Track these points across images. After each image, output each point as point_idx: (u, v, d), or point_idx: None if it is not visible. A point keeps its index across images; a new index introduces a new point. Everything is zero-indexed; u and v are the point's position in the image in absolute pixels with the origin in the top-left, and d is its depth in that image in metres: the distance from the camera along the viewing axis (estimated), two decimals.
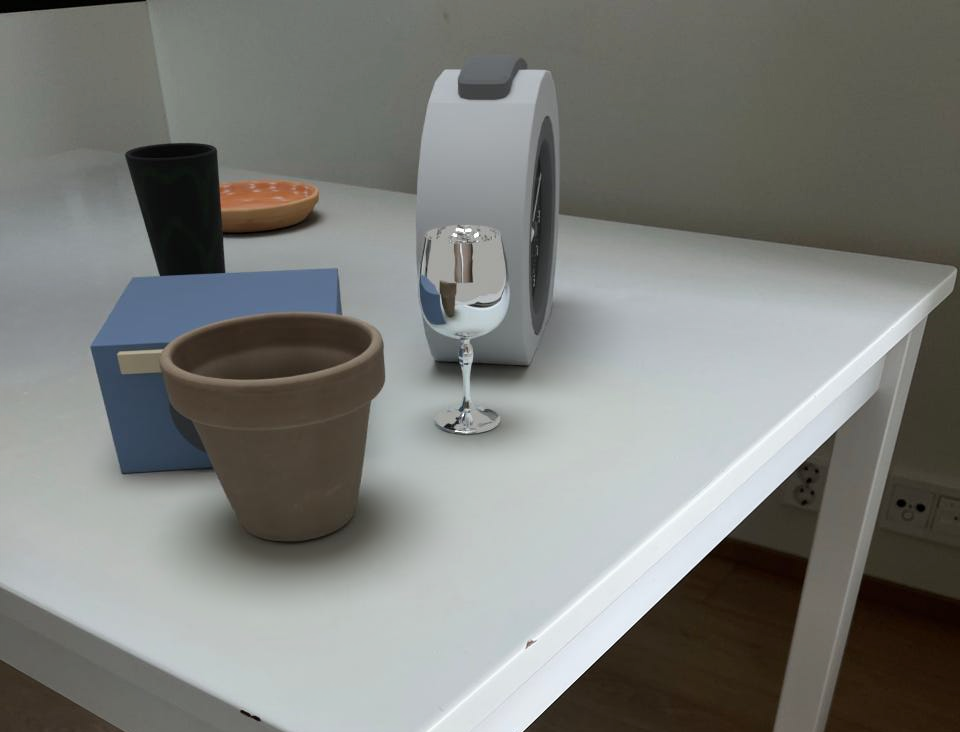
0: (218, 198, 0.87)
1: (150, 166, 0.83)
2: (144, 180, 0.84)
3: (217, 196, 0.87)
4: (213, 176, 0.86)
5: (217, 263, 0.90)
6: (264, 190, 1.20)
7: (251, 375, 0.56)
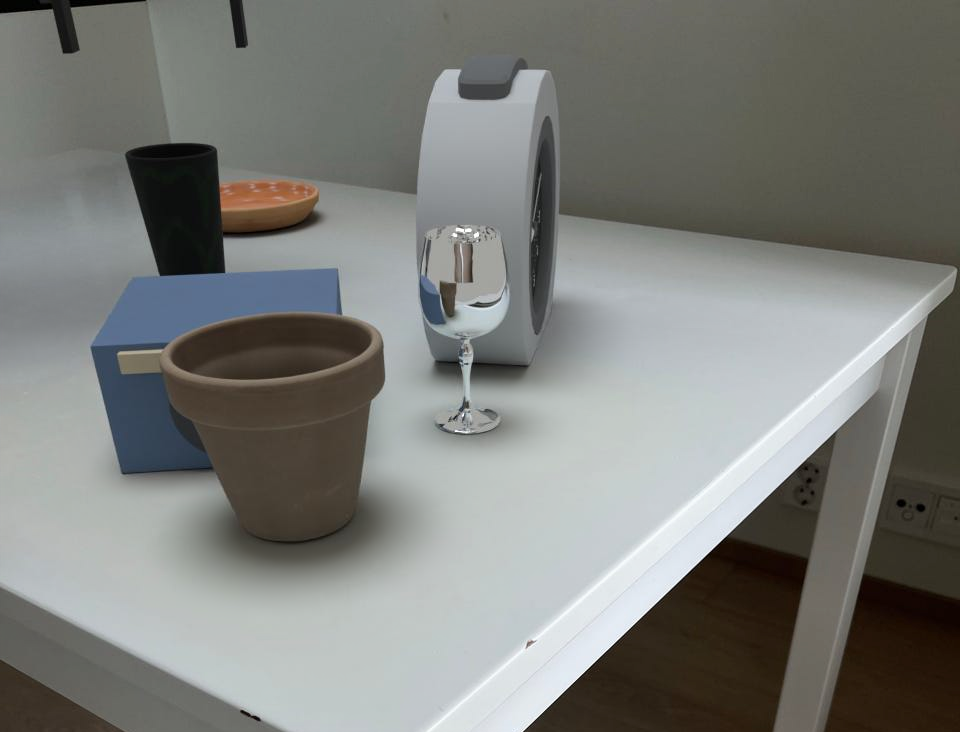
0: (218, 198, 0.87)
1: (150, 166, 0.83)
2: (144, 180, 0.84)
3: (217, 196, 0.87)
4: (213, 176, 0.86)
5: (217, 263, 0.90)
6: (264, 190, 1.20)
7: (251, 375, 0.56)
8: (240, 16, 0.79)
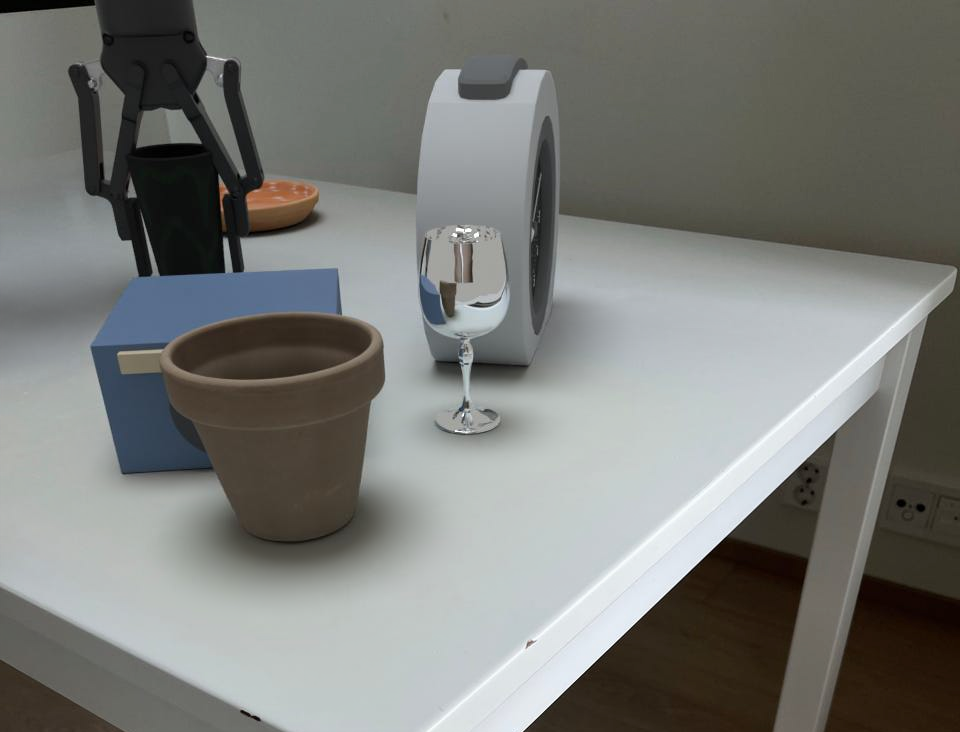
0: (218, 198, 0.87)
1: (150, 166, 0.83)
2: (144, 180, 0.84)
3: (217, 196, 0.87)
4: (213, 176, 0.86)
5: (217, 263, 0.90)
6: (264, 190, 1.20)
7: (251, 375, 0.56)
8: (237, 251, 0.89)
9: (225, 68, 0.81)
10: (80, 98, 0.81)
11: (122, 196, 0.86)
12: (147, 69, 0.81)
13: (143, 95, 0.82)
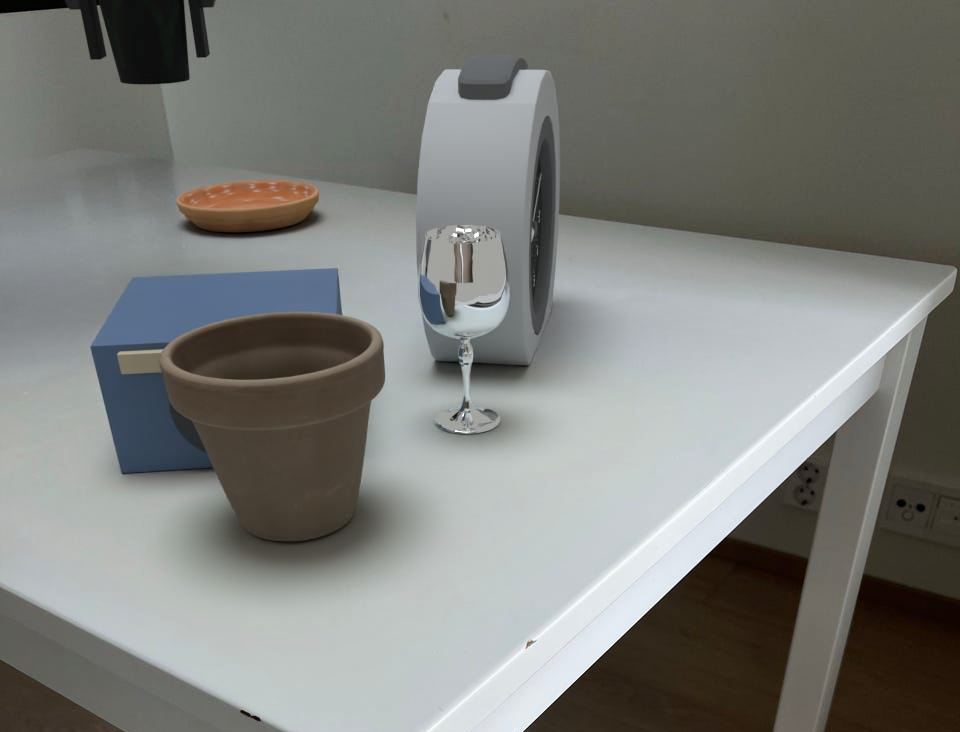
0: None
1: None
2: None
3: None
4: None
5: (178, 40, 0.80)
6: (264, 190, 1.20)
7: (251, 375, 0.56)
8: (200, 26, 0.79)
9: None
10: None
11: None
12: None
13: None
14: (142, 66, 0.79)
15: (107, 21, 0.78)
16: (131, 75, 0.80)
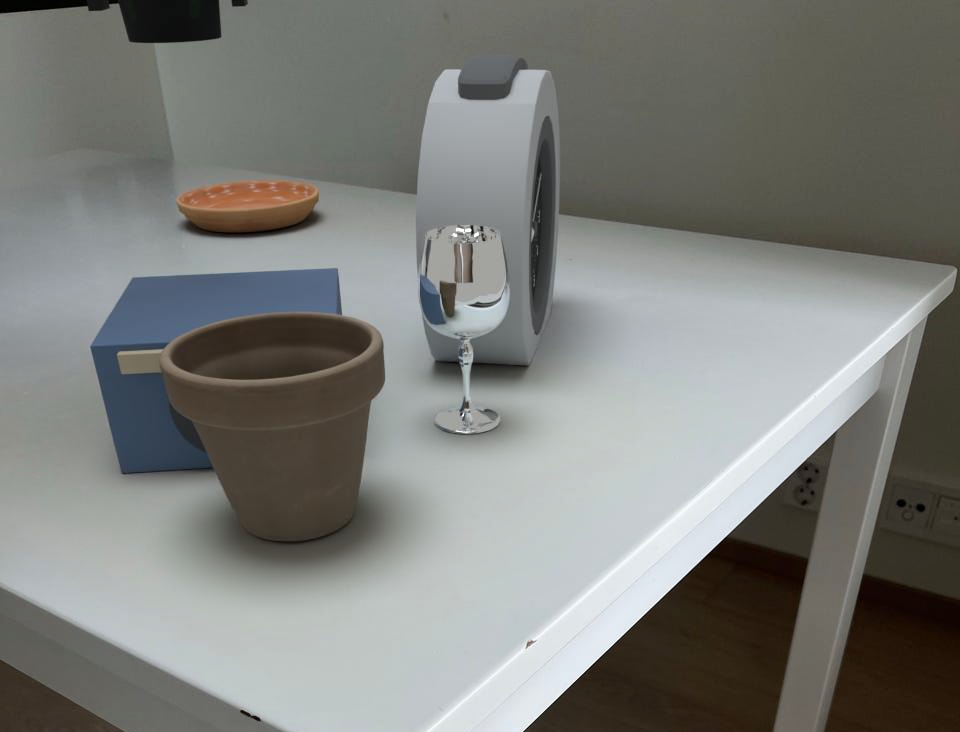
0: None
1: None
2: None
3: None
4: None
5: None
6: (264, 190, 1.20)
7: (251, 375, 0.56)
8: None
9: None
10: None
11: None
12: None
13: None
14: (159, 17, 0.58)
15: None
16: (144, 30, 0.59)
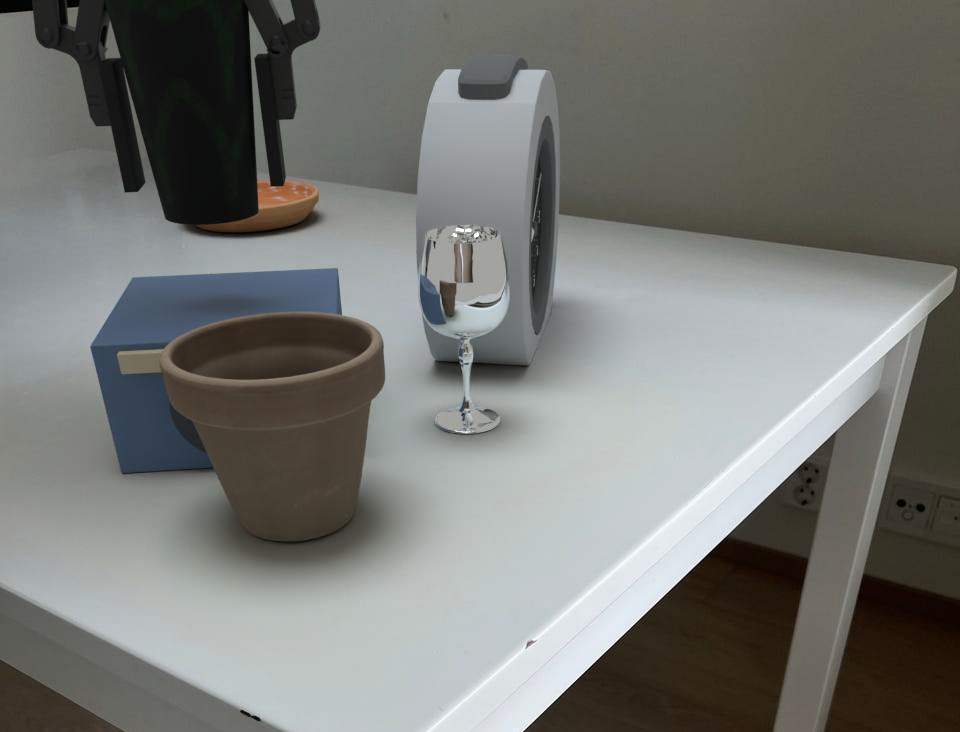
0: (248, 56, 0.55)
1: None
2: (130, 18, 0.52)
3: (247, 52, 0.55)
4: (241, 16, 0.53)
5: (246, 164, 0.57)
6: (264, 190, 1.20)
7: (251, 375, 0.56)
8: (277, 145, 0.57)
9: None
10: None
11: (95, 50, 0.54)
12: None
13: None
14: (197, 201, 0.57)
15: (148, 141, 0.56)
16: (181, 213, 0.58)
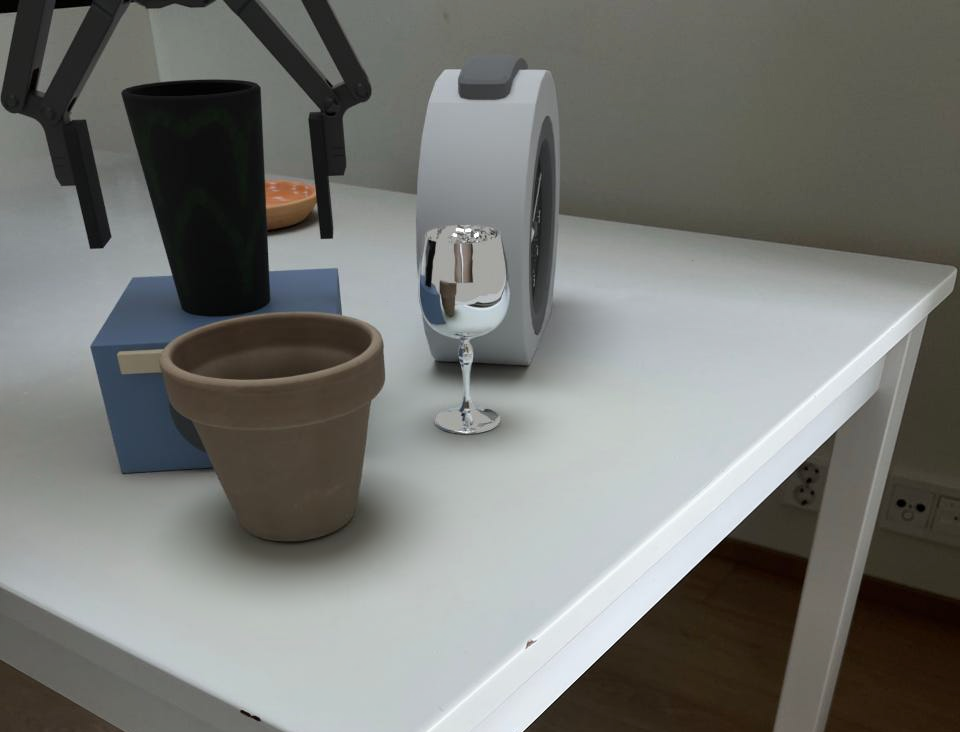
0: (261, 161, 0.58)
1: (160, 109, 0.54)
2: (151, 132, 0.55)
3: (260, 158, 0.58)
4: (255, 127, 0.56)
5: (259, 259, 0.60)
6: None
7: (251, 375, 0.56)
8: (328, 200, 0.59)
9: None
10: None
11: (59, 118, 0.55)
12: None
13: None
14: (212, 295, 0.60)
15: (167, 240, 0.59)
16: (197, 305, 0.61)
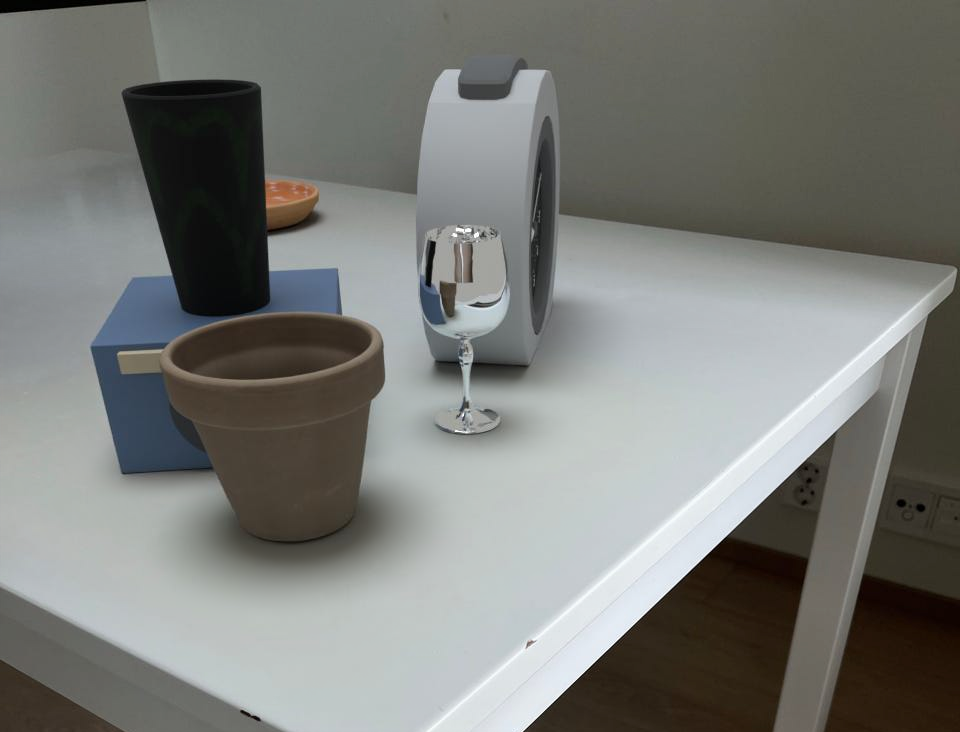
0: (262, 161, 0.58)
1: (160, 109, 0.54)
2: (151, 132, 0.55)
3: (260, 158, 0.58)
4: (255, 127, 0.57)
5: (259, 259, 0.60)
6: None
7: (251, 375, 0.56)
8: None
9: None
10: None
11: None
12: None
13: None
14: (212, 295, 0.60)
15: (167, 240, 0.59)
16: (197, 305, 0.61)
